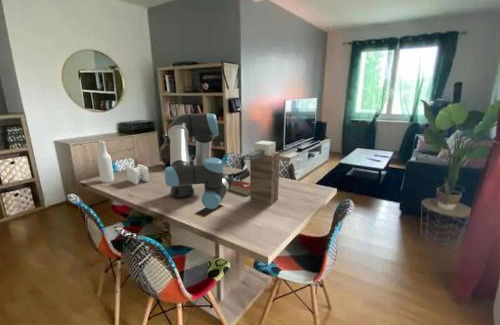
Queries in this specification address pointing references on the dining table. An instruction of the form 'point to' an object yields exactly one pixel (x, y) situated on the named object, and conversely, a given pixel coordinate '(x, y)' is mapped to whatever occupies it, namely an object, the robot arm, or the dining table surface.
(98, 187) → the dining table surface
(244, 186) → the hardcover book
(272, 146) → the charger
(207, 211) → the smartphone
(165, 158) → the amphora vase
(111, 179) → the alcohol
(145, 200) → the dining table surface
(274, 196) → the stand
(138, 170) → the cable organizer
